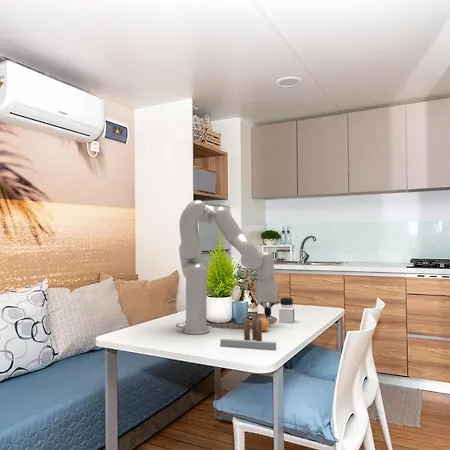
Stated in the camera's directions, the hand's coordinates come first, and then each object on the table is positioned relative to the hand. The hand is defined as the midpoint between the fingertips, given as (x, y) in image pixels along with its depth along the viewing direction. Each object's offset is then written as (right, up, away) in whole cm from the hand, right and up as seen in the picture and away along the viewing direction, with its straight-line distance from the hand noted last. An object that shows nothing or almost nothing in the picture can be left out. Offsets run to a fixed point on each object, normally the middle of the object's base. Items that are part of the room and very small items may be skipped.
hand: (268, 316), depth 199 cm
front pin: (-8, -4, -24) cm, 25 cm away
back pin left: (-11, -4, -27) cm, 30 cm away
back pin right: (-7, -4, -28) cm, 30 cm away
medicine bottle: (+11, -5, +10) cm, 16 cm away
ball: (-3, -2, -9) cm, 10 cm away
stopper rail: (-12, -4, -36) cm, 38 cm away
